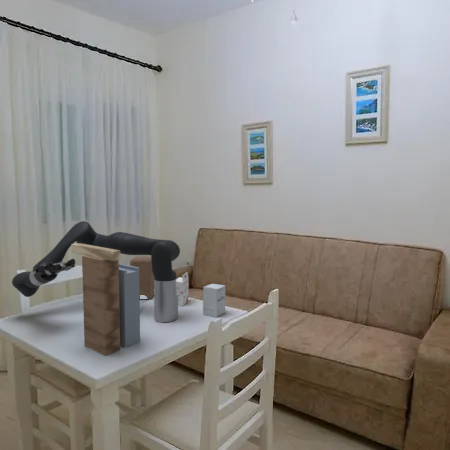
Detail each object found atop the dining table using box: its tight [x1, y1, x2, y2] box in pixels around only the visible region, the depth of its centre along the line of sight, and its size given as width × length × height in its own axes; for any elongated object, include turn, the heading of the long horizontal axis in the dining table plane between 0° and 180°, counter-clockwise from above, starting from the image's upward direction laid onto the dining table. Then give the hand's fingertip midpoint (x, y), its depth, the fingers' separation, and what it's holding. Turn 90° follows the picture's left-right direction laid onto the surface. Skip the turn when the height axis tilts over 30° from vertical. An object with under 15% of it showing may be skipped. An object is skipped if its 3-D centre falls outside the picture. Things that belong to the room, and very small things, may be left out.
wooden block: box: [129, 256, 154, 301], centre depth 192 cm, size 10×10×20 cm
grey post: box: [119, 263, 141, 348], centre depth 138 cm, size 6×12×27 cm, turn 53°
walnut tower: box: [81, 255, 121, 356], centre depth 131 cm, size 6×12×32 cm, turn 53°
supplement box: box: [202, 283, 226, 318], centre depth 168 cm, size 7×7×13 cm
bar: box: [70, 242, 121, 261], centre depth 131 cm, size 3×24×3 cm, turn 53°
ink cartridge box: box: [176, 271, 189, 307], centre depth 183 cm, size 9×5×15 cm, turn 168°
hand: (63, 262), depth 142 cm, fingers open, 8 cm apart
